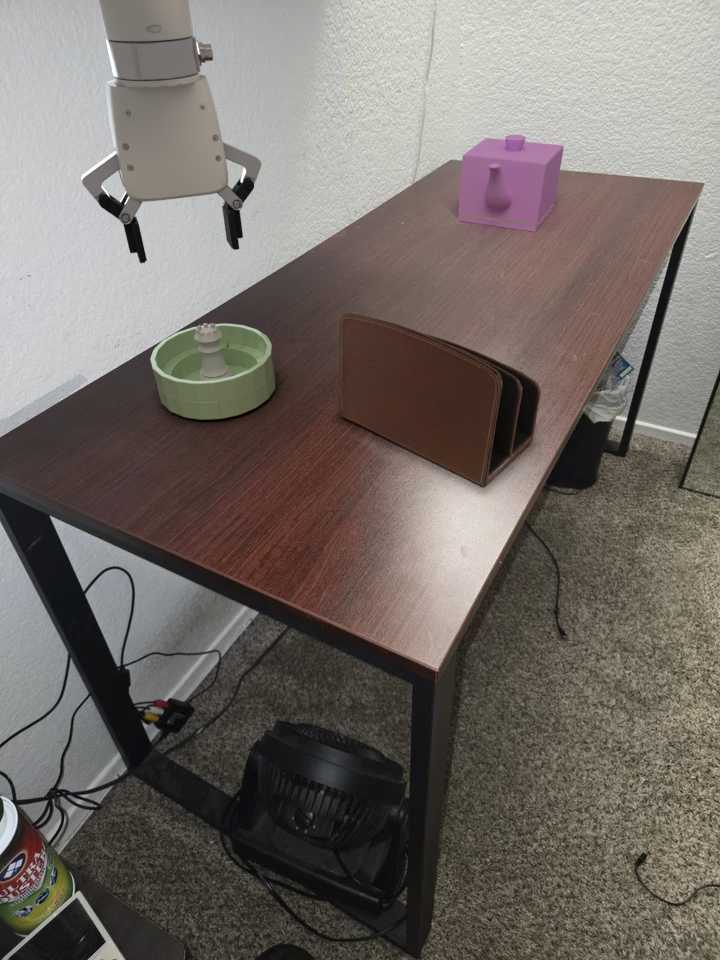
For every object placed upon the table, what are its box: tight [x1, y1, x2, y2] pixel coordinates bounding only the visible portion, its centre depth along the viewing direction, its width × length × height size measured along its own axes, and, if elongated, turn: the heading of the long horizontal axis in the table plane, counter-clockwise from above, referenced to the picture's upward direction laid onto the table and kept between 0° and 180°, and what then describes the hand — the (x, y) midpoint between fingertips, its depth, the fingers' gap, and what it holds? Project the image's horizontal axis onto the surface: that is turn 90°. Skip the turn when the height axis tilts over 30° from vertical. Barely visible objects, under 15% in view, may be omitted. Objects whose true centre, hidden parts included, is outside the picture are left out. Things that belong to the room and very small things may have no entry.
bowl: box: [149, 323, 277, 421], centre depth 80 cm, size 14×14×6 cm
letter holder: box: [339, 313, 542, 488], centre depth 70 cm, size 10×20×14 cm, turn 49°
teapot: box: [457, 134, 565, 233], centre depth 122 cm, size 15×25×14 cm, turn 153°
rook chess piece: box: [194, 322, 234, 381], centre depth 79 cm, size 4×4×8 cm
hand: (188, 251), depth 70 cm, fingers open, 9 cm apart
